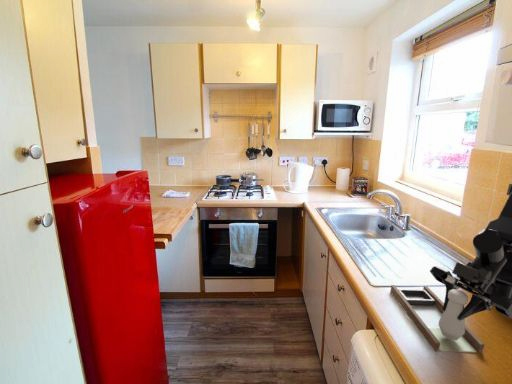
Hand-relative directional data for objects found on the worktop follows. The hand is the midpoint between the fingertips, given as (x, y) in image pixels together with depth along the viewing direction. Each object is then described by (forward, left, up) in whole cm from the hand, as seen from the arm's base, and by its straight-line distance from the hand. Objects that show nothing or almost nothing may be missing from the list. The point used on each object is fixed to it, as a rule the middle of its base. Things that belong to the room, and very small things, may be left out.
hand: (451, 315), depth 73 cm
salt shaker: (-1, -1, -7) cm, 7 cm away
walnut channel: (-1, -10, -8) cm, 13 cm away
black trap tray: (-1, -18, -8) cm, 20 cm away
